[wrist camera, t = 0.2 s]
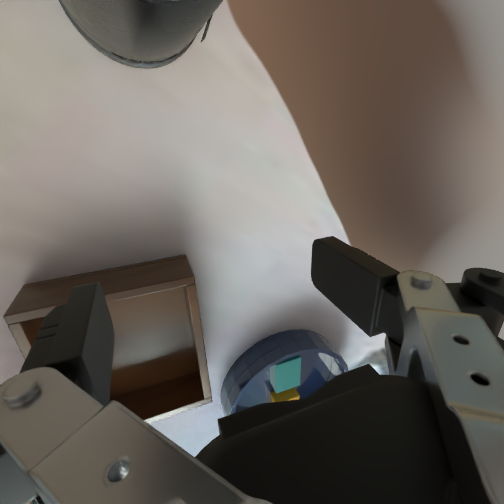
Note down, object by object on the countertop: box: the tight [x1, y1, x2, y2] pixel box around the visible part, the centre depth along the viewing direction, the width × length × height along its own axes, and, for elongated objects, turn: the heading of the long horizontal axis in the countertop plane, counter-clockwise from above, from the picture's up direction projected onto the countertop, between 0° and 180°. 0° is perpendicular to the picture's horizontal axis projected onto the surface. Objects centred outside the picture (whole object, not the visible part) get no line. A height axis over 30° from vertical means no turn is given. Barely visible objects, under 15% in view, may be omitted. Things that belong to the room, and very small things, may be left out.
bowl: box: [221, 330, 348, 416], centre depth 39 cm, size 17×17×4 cm
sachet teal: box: [270, 355, 301, 393], centre depth 38 cm, size 5×4×2 cm
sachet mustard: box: [271, 387, 300, 402], centre depth 41 cm, size 5×4×2 cm
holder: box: [3, 255, 212, 424], centre depth 28 cm, size 16×14×5 cm
